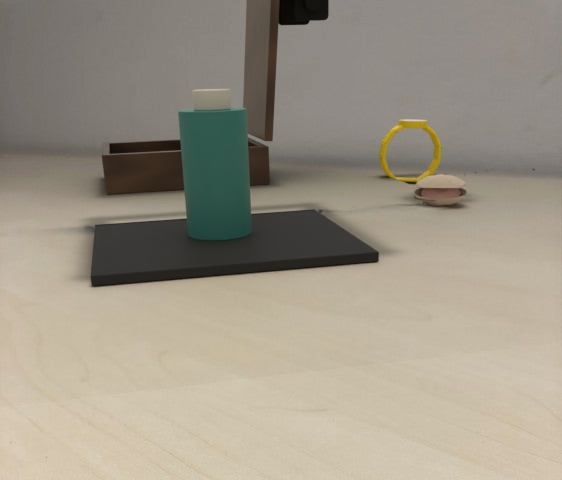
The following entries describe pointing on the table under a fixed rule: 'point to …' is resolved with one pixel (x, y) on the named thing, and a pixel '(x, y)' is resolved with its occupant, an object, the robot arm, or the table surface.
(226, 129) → the bottle
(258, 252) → the mat
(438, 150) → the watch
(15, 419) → the table surface
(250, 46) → the lid
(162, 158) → the brown wooden tray
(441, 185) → the macaroon
